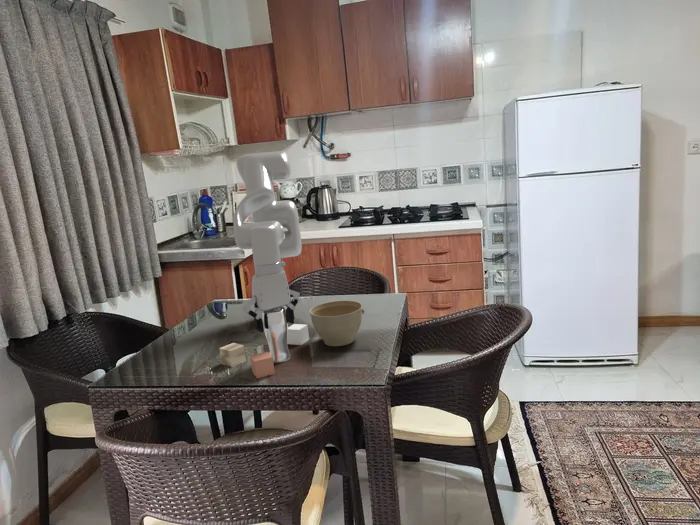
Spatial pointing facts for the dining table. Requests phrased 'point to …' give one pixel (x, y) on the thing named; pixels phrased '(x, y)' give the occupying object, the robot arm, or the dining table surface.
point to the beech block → (232, 354)
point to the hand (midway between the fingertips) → (275, 326)
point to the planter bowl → (337, 321)
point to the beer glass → (276, 333)
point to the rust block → (262, 364)
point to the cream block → (297, 334)
